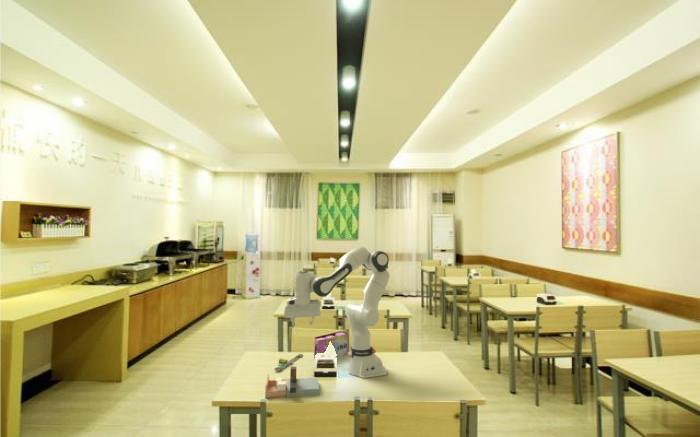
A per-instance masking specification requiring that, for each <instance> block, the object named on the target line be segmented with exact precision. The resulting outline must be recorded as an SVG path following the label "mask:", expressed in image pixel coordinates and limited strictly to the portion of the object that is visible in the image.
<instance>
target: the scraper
mask: <svg viewBox="0 0 700 437" xmlns="http://www.w3.org/2000/svg"><path fill="white" fill-rule="evenodd" d="M289 370H290V374H289V376H290V378H289V379H290V393H296V379H297V366H291V367H290V369H289Z"/></svg>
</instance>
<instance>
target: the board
mask: <svg viewBox="0 0 700 437" xmlns="http://www.w3.org/2000/svg"><path fill="white" fill-rule="evenodd" d="M286 379H287V378H286ZM319 395H320V386H319V379H318V377H304V378H296V393H290V378H289V379H287V388H286V397H287V398H290V397H306V396H319Z"/></svg>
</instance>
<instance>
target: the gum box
mask: <svg viewBox="0 0 700 437" xmlns="http://www.w3.org/2000/svg"><path fill="white" fill-rule="evenodd" d="M330 341H331V343H332V345H333V346H334V348H335V351H336V354H337V356H336V357H335V358H339V357H342V356H345V355H348V354H349V351H348V350H349V333H347V332H345V331H343V330H339V331H335V332H332V333H327V334H322V335H319V336H315V337H314V345H313V346H314V347H313V348H314V349H313V359H315V355H316V354H317V353H324V352H325V351H326V349H327V347H328V345H329V342H330Z"/></svg>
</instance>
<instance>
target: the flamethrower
mask: <svg viewBox="0 0 700 437" xmlns="http://www.w3.org/2000/svg"><path fill="white" fill-rule="evenodd" d="M303 356H304V355H303V353H299V354H298V355H296V356H295V357H293V358H292V359H290V360H288V359H286V358H285V359H284V358H281V357H280V358H279V359H278V364H277V367H275V368H274V371H276V372H280V371H281V370H283V369H284V370H285V369H286V367H289V366H290V368H291V367H292V366H293V365H294V362H295V361H296V360H298V359H300V358H302V357H303ZM291 364H292V365H291Z"/></svg>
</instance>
